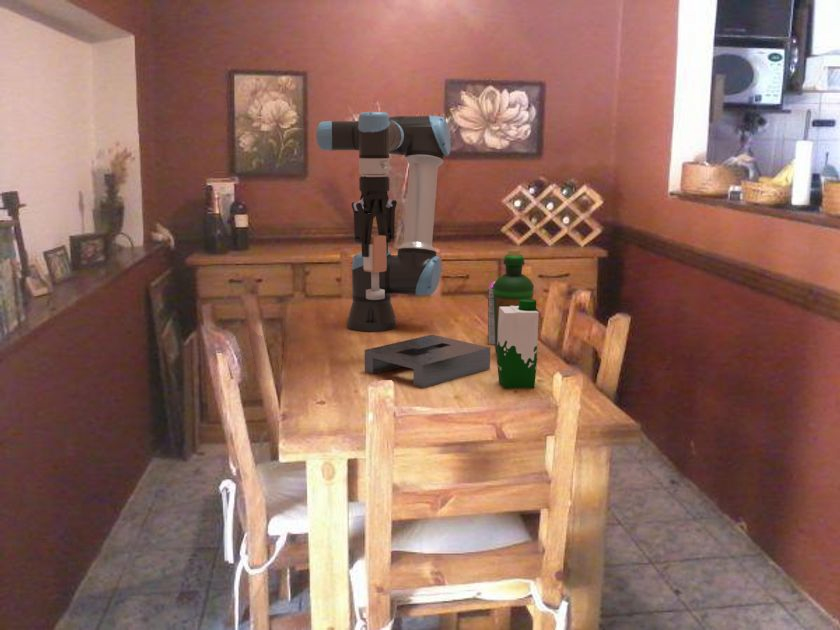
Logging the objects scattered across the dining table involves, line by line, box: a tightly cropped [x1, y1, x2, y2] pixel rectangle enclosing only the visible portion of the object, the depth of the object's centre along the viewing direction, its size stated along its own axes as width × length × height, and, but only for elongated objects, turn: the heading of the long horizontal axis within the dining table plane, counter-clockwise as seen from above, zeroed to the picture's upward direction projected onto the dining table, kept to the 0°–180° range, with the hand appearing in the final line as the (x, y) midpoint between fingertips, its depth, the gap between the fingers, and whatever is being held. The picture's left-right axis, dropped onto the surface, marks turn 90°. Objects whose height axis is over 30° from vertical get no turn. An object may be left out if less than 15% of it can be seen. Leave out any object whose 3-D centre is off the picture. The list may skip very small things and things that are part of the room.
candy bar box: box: [487, 280, 496, 346], centre depth 238 cm, size 11×5×16 cm, turn 168°
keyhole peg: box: [364, 234, 386, 300], centre depth 214 cm, size 5×5×16 cm
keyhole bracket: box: [364, 334, 491, 389], centre depth 208 cm, size 20×24×6 cm
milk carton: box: [496, 298, 540, 389], centre depth 195 cm, size 9×9×20 cm
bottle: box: [493, 249, 535, 355], centre depth 221 cm, size 11×11×28 cm
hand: (375, 268), depth 214 cm, fingers closed on keyhole peg, 4 cm apart
